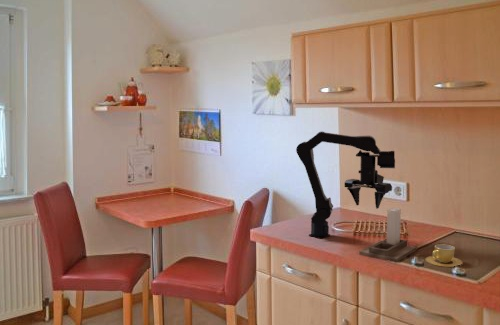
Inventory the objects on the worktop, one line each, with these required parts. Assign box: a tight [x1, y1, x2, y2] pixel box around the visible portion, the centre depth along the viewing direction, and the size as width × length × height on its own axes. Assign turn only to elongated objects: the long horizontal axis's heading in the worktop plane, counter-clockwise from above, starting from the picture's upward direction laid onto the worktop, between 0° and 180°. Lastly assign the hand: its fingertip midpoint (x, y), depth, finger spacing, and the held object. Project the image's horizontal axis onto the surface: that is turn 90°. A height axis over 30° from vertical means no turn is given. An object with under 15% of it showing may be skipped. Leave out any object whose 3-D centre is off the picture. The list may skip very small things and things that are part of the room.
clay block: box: [386, 207, 402, 245], centre depth 188 cm, size 3×5×14 cm, turn 141°
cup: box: [425, 243, 463, 268], centre depth 175 cm, size 12×12×5 cm
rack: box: [358, 238, 418, 263], centre depth 185 cm, size 14×18×3 cm
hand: (367, 206), depth 202 cm, fingers open, 9 cm apart
